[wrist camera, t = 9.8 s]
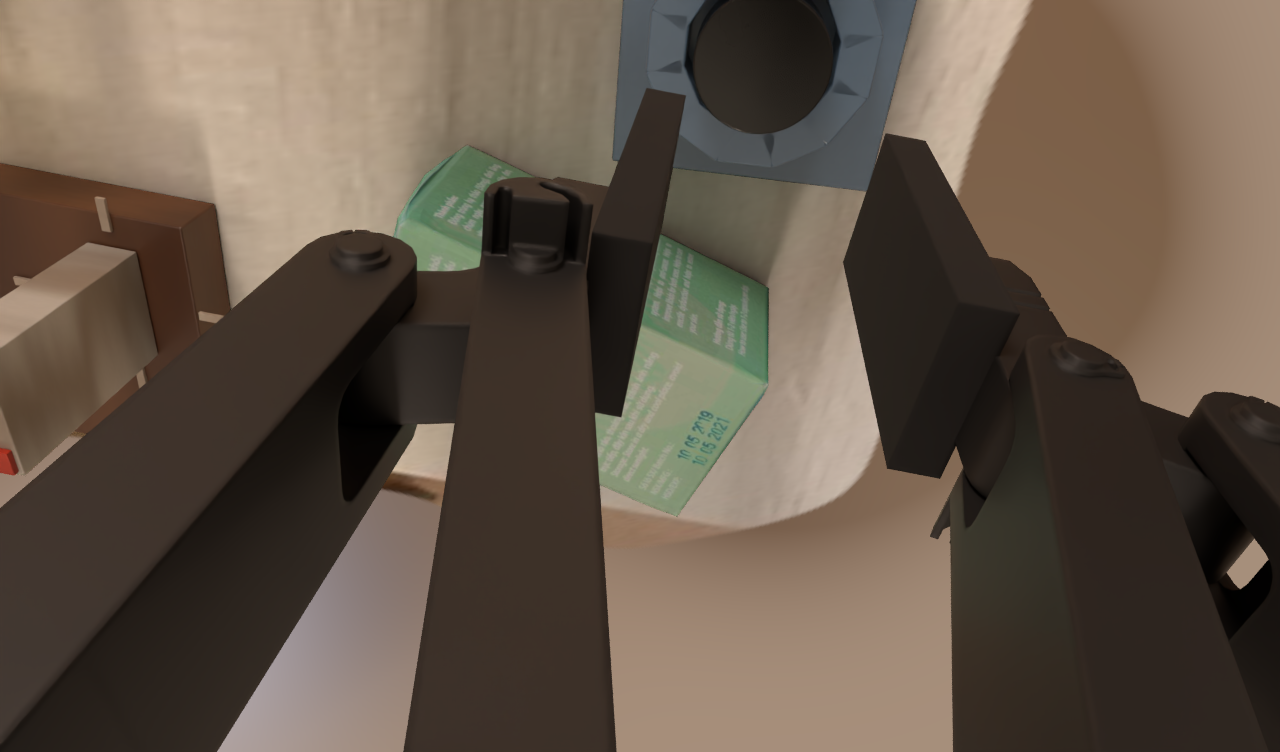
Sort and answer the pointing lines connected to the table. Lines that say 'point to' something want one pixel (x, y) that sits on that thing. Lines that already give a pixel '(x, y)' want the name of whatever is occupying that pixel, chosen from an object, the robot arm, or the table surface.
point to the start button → (762, 63)
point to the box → (666, 349)
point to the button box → (804, 153)
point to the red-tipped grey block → (68, 349)
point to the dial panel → (126, 219)
